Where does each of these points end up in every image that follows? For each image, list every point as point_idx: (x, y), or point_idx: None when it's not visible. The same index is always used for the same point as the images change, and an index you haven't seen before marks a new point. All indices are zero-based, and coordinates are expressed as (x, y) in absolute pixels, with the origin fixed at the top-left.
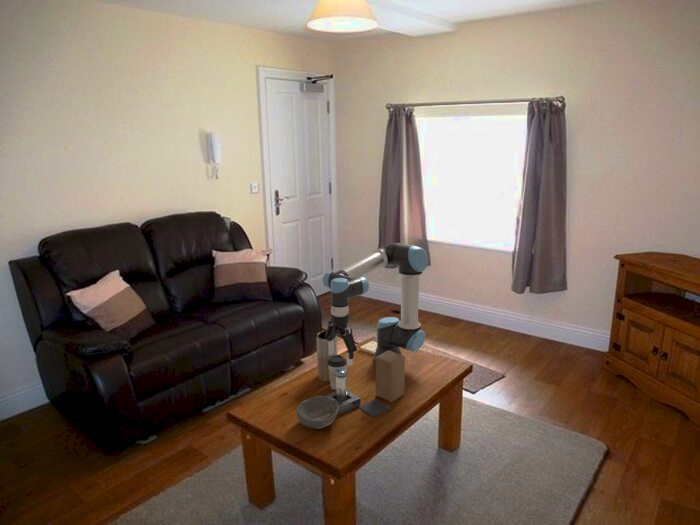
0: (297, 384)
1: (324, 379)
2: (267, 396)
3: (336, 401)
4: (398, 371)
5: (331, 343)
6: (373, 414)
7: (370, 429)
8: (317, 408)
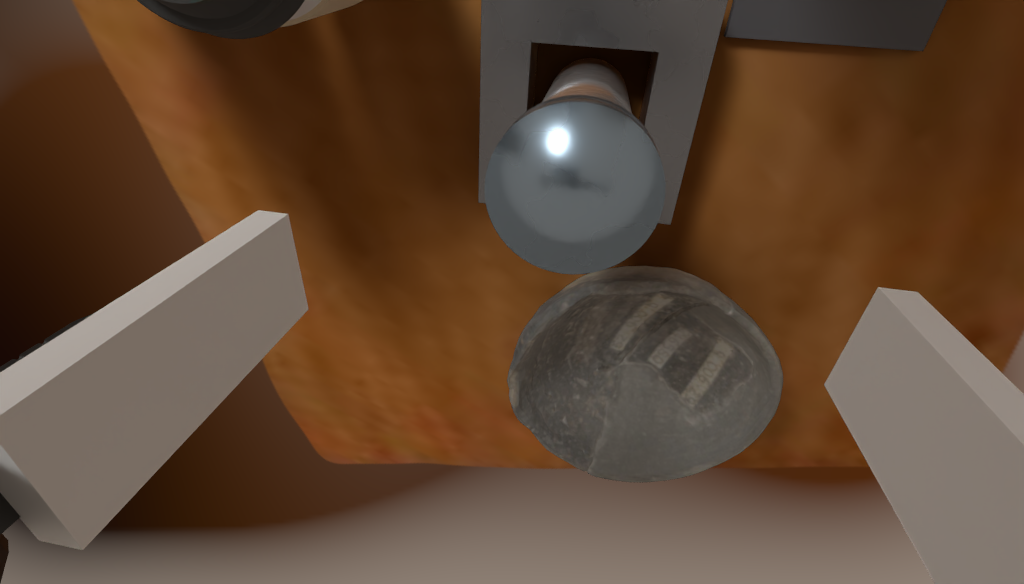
0: (201, 152)
1: None
2: None
3: None
4: None
5: (113, 437)
6: (913, 25)
7: (970, 179)
8: (574, 320)
